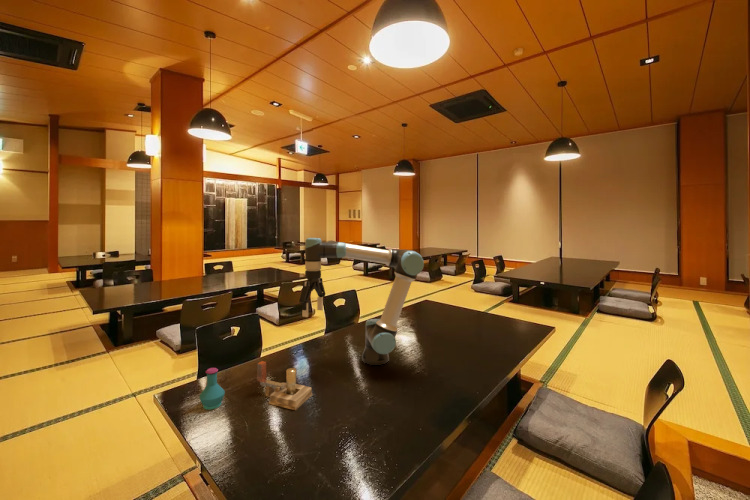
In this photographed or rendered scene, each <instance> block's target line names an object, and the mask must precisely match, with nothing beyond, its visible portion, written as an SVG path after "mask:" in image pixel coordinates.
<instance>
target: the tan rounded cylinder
mask: <svg viewBox="0 0 750 500" xmlns="http://www.w3.org/2000/svg"><path fill="white" fill-rule="evenodd" d="M285 377H286V378H285V379H286V380H285V381H286V382H285V383H286V394H288V395H292V396H293V395H294V394H296V384H297V369H296V368H294V367H290V368H287V369H286V376H285Z"/></svg>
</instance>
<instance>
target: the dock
mask: <svg viewBox="0 0 750 500" xmlns="http://www.w3.org/2000/svg"><path fill="white" fill-rule="evenodd" d="M282 383H283V384H284V388H283V389H281V390H280V387H275V388H271V387H266V386H265V396H266V397H268V398H269V401H268V404H269V405H273V406H277V407H280V408H284V409H287V410H288V409H289V410H292V411H297V410H298V409H299V408H300V407H302V405H303V404H305V402H307V401H308V400H309V399H310V398H311V397H312V396H313V394H314V393H312V387H311V386H306V385H303V384H298V383H296V394H294V395H293V396H292V395H288V394H286V382H282Z"/></svg>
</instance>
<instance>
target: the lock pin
mask: <svg viewBox="0 0 750 500" xmlns="http://www.w3.org/2000/svg"><path fill="white" fill-rule="evenodd" d="M256 367H257V368H256V370H257V372H256V373H257V375H256V376H257V377H256V381H257V382H259V385H260V386H262V387H265V388H266V387H271V388H275V387H280V390H281V389H283V388H284V384H283V383H284V382H277V381H273V380H270V379H267V361H264V360H262V361H259V362H258V363H257V364H256Z"/></svg>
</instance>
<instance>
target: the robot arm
mask: <svg viewBox="0 0 750 500" xmlns="http://www.w3.org/2000/svg"><path fill="white" fill-rule="evenodd" d="M304 243H305V244H304V245H305V246H304V248H305V249H304V250H305V251H304V254H305V255H304V259H305V264H304V265H305V268H304V269H305V270H304V271H305V272H304V274H305V275H304V278H305V279H307V281H303V282H302V289H301V292H300V297H299V301H298V303H301V304H302V306H301V308H302V310H301V311H302V313H301V314H302V317H303V318H309V302H308V301H309V299H310V297H311V295H312V292H313V291H315V292H316V295H317V300H316V302H317V305H316V309H317V310H316V311H323V310H324V304H323V303H324V298H325V297H326V291H325V287H324V284H323V283H324V282H323V278H322V258H324V259H325V258H329V259H330V258H331V259H335V258H337V259H341V258H346V259H352V260H360V261H366V262H370V263H371V262H373V263H379V264H385V265H386V266H387V267H391V268H394V276H395V278H394V280H393V283H392V285H391V289H390V291H389V294H388V297H387V299H386V303H385V305H384V307H383V311H382V314H381V316H380V318H370V319H367V320H366V321H365V325H364V327H365V333H364V334H365V343H364V344H365V346H364V350H363V352H362V356H361V362H362V361H363V362H365V363H367V364H370V365H369V366H371V365H380V364H384V363H386V362H388V361H389V362H390V355H389V354H390V353H392V352H393V350H394V349H395V348H396V345H397V341H396V336H397V333H398V327H397V324H398V321H399V319H400V316H401V313H402V310H403V307H404V305H405V302H406V299H407V296H408V293H409V290H410V288H411V284H412V282H414V281H416V280H417V277H418V275H419V274H420V273H421V272H422V271H423V270H424V267H425V261H424V258H423V256H422V255H421V254H420V253H418V252H417V251H415V250H409V249H397V248H396V249H395V248H388V249H383V248H378V247H377V248H376V247H370V246H364V245H358V244H354V243H352V244H351V243H346V242H344V241H343V242H342V241H341V242H340V241H335V240H329V241H326V242H324V241H322V238H320V237H308V238H306V239H305V242H304ZM363 362H362V363H363ZM389 362H388V363H389ZM365 363H364V364H365ZM367 364H366V365H367Z"/></svg>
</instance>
